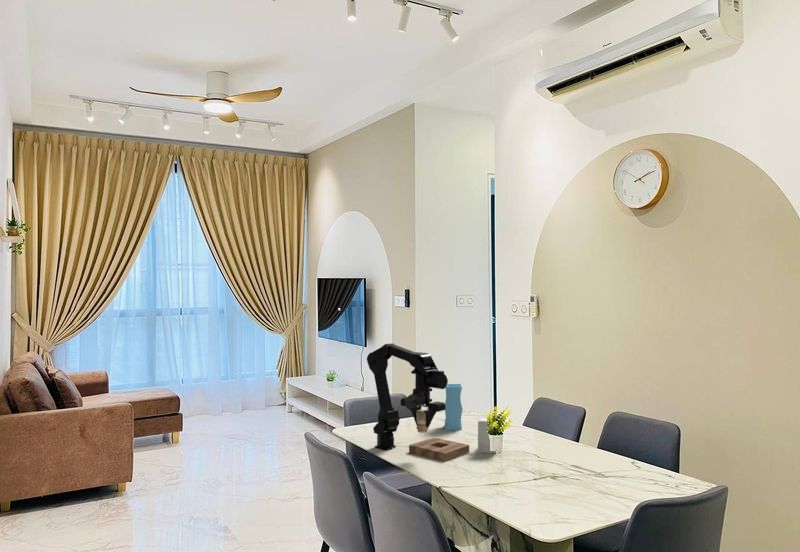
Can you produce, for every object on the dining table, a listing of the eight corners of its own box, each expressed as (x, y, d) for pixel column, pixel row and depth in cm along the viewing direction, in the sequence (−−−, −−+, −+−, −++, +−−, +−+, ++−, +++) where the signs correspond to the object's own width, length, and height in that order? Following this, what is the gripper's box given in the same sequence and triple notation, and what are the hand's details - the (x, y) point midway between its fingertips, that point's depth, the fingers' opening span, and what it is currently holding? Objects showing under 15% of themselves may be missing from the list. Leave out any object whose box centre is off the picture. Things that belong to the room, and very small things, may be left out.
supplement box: (496, 453, 240) (496, 421, 241) (477, 452, 242) (477, 421, 242) (497, 448, 248) (497, 417, 248) (478, 447, 249) (478, 417, 249)
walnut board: (409, 452, 242) (409, 444, 242) (433, 444, 254) (433, 437, 254) (445, 461, 230) (445, 453, 230) (469, 452, 242) (469, 444, 242)
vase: (462, 430, 279) (462, 386, 279) (445, 430, 279) (445, 386, 279) (460, 426, 287) (461, 383, 287) (444, 426, 287) (444, 383, 287)
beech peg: (413, 431, 235) (413, 411, 235) (421, 429, 239) (421, 409, 239) (423, 433, 232) (423, 412, 232) (431, 431, 235) (431, 410, 235)
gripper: (391, 385, 236) (390, 426, 236) (427, 391, 223) (427, 434, 223) (410, 382, 244) (409, 421, 244) (446, 387, 231) (446, 428, 231)
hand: (422, 426), depth 235 cm, fingers closed on beech peg, 5 cm apart
